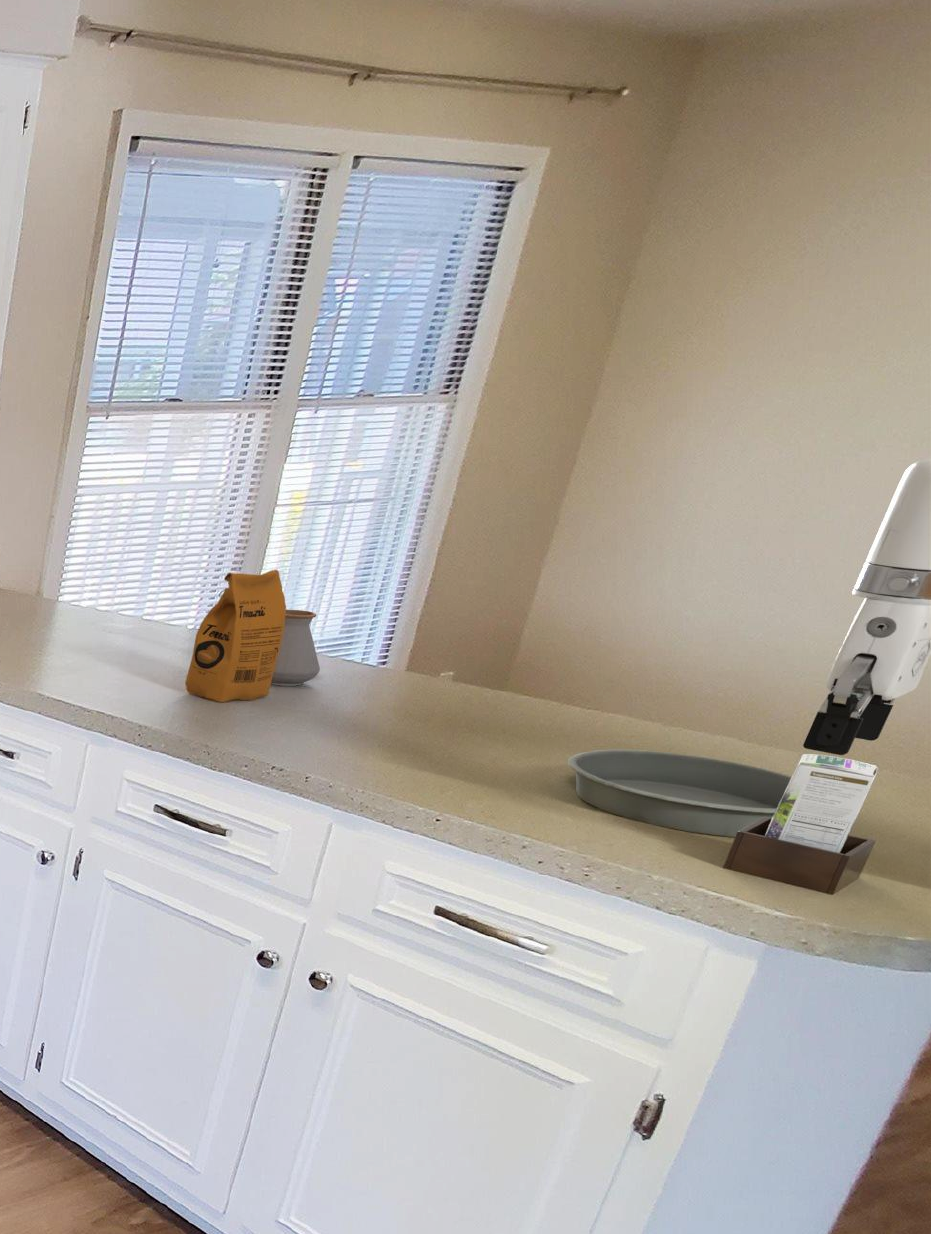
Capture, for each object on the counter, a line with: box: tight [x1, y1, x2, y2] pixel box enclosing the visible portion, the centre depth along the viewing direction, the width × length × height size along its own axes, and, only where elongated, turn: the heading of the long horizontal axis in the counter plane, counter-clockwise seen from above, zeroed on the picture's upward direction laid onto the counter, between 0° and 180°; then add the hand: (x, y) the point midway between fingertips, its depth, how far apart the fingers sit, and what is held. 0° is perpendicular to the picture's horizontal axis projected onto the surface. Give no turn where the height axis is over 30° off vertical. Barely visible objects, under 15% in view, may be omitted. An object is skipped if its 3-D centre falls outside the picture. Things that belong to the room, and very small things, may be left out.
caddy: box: [722, 817, 876, 896], centre depth 130 cm, size 9×9×6 cm
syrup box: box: [765, 753, 879, 853], centre depth 128 cm, size 6×6×14 cm
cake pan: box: [567, 749, 792, 838], centre depth 152 cm, size 25×25×4 cm
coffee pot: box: [218, 587, 321, 687], centre depth 219 cm, size 21×12×15 cm, turn 17°
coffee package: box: [184, 569, 287, 703], centre depth 205 cm, size 10×12×22 cm
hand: (839, 744), depth 125 cm, fingers open, 9 cm apart
